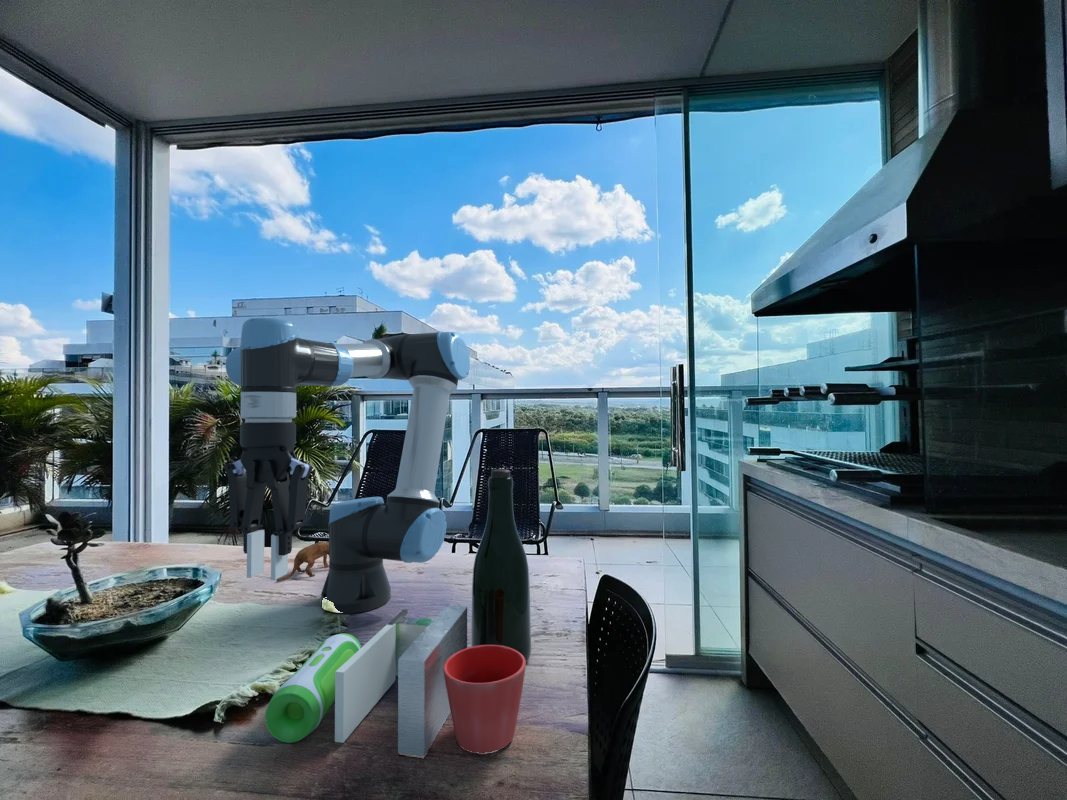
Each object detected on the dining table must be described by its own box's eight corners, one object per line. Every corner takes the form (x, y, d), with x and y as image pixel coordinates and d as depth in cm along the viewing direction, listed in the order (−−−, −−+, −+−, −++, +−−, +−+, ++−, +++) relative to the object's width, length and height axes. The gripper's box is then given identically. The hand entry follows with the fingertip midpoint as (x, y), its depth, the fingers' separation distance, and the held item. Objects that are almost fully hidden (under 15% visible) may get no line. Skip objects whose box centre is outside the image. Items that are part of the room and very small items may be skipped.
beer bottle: (526, 642, 92) (525, 465, 93) (535, 670, 82) (534, 472, 83) (469, 647, 91) (469, 467, 92) (472, 677, 80) (472, 473, 81)
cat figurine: (282, 588, 123) (281, 534, 123) (270, 583, 127) (268, 530, 127) (347, 567, 138) (345, 518, 138) (334, 562, 142) (332, 515, 141)
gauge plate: (334, 741, 64) (335, 670, 64) (401, 664, 84) (402, 609, 84) (343, 742, 64) (343, 670, 64) (408, 664, 84) (408, 609, 84)
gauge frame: (325, 746, 64) (326, 652, 64) (395, 667, 83) (395, 595, 84) (424, 758, 61) (424, 661, 62) (471, 674, 81) (471, 601, 81)
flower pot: (447, 713, 71) (447, 645, 71) (523, 709, 72) (523, 641, 72) (439, 766, 60) (439, 686, 60) (528, 760, 61) (528, 681, 61)
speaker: (321, 675, 82) (322, 629, 82) (365, 675, 81) (365, 629, 82) (260, 747, 64) (261, 688, 64) (316, 748, 64) (316, 689, 64)
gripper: (201, 421, 73) (199, 580, 72) (301, 421, 70) (300, 587, 70) (240, 420, 80) (238, 565, 80) (332, 420, 78) (331, 570, 77)
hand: (267, 575), depth 75 cm, fingers open, 3 cm apart
